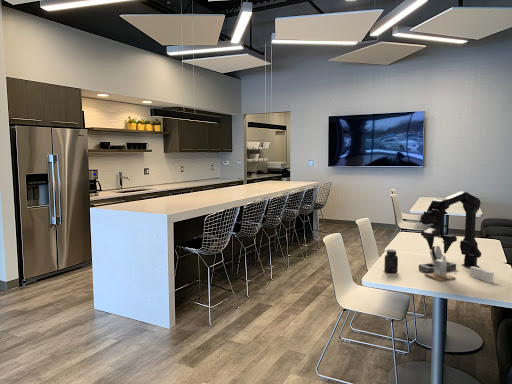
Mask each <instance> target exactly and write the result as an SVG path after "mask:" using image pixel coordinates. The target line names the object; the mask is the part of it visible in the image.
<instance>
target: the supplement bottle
mask: <svg viewBox="0 0 512 384" xmlns="http://www.w3.org/2000/svg"><path fill="white" fill-rule="evenodd" d="M383 266H384V268H383V270H384V273H385V274H389V275H392V274H393V275H395V274H397V273H398V272H399V271H398V270H399V267H398V266H399V256H397V250H396V249H395V250H394V249H387V250H386V254H385V255H384V265H383Z"/></svg>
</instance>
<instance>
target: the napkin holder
mask: <svg viewBox="0 0 512 384" xmlns="http://www.w3.org/2000/svg"><path fill="white" fill-rule="evenodd" d="M494 275H495V273H494V271H490V270H487V269H484V268H481V267H474V266H473V267H470V271H469V276H470V277H472V278H476V279H479V280H481V281H484V282H487V283H489V284H492V283H494Z"/></svg>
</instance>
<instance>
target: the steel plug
mask: <svg viewBox="0 0 512 384" xmlns="http://www.w3.org/2000/svg"><path fill="white" fill-rule="evenodd" d="M447 262H448V261H447V260H445V261H444V260H441V259H439V260H435V262H434V275H435V276H438V277H446V274H447V271H446V266H447Z"/></svg>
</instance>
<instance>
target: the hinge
mask: <svg viewBox="0 0 512 384" xmlns="http://www.w3.org/2000/svg"><path fill="white" fill-rule="evenodd" d="M441 249H442V248H441V246H439V245H435V246H434V245H433V247H432V250H430V249H429V254H430V257H431V260H432V263H434V262H435V260H439V259H441V260H444V261H447V260H446V259H447V258H446V256H445V254H443V253H442V250H441Z"/></svg>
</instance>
